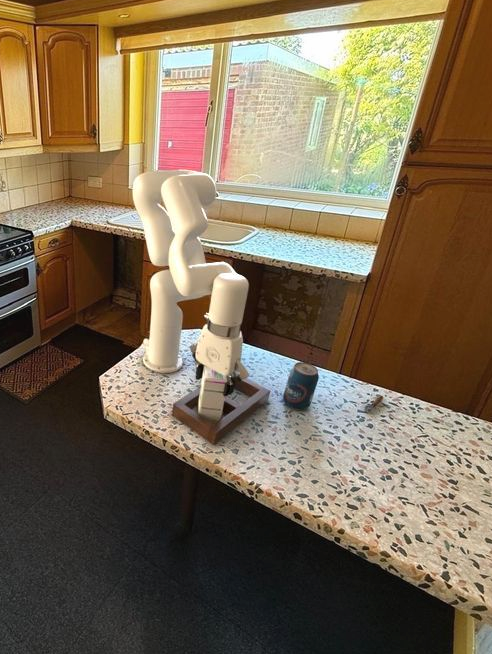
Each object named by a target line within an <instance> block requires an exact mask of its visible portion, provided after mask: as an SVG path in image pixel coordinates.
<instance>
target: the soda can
mask: <svg viewBox="0 0 492 654" xmlns="http://www.w3.org/2000/svg"><path fill="white" fill-rule="evenodd" d="M319 379H320V375H319V370H318V368H317V367H316V366H315V365H313V364H312V363H309V362H304V361H299V362H296V363H295V364H294V365H293V366H292V367H291V368H290V370H289V374H288V377H287V381H286V384H285V388H284V392H283V395H282V396H283V397H282V398H283V401H284V403H285V404H286V405H287V407H289V408H290V409H293V410H296V411H304V410H306V409H308V408H309V407H311V404H312V402H313V398H314V394H315V392H316V388H317V385H318V382H319Z"/></svg>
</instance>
